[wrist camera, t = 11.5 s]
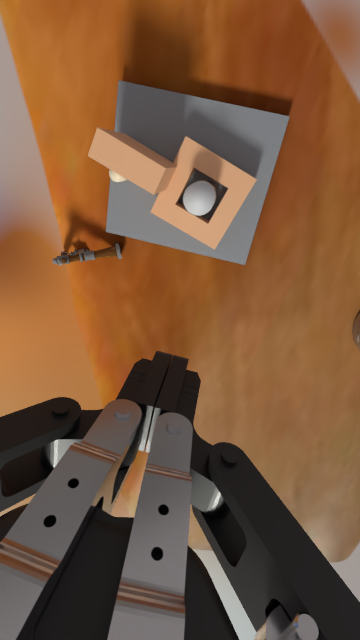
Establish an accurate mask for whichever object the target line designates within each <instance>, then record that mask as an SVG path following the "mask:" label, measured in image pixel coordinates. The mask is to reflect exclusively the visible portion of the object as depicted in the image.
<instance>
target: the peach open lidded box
mask: <svg viewBox="0 0 360 640" xmlns="http://www.w3.org/2000/svg"><path fill="white" fill-rule="evenodd" d="M88 156H89V157H90V158H92V159H94V160H95V161H97V162H99V163H101V164H102V165H104V166H106V167H107V168H109V169H111V170H112V171H114V172H116V173H117V174H119V175H121V176H123V177H124V178H126V179H128V180H129V181H131V182H133V183H134V184H136V185H138V186H139V187H141V188H143V189H145V190H146V191H148V192H150V193H151V194H153V195H155V194H157V193H159V195H158V197H157V199H156V201H155V203H154V205H153V207H152V210H151V213H153V214H154V215H156V216H158V217H160V218H161V219H163V220H165V221H166V222H168V223H170V224H171V225H173V226H175V227H177V228H178V229H180V230H182V231H183V232H185V233H187V234H189V235H190V236H192V237H194V238H195V239H197V240H199V241H201V242H202V243H204V244H206V245H207V246H209V247H211V248H213V249H214V250H215V248H216V247H217V245H218V243H219V242H220V240H221V239H222V237H223V235H224V234H225V232H226V230H227V229H228V227H229V225H230V224H231V222H232V220H233V219H234V217H235V215H236V214H237V212H238V210H239V209H240V207H241V205H242V204H243V202H244V200H245V199H246V197H247V195H248V194H249V192H250V190H251V189H252V187H253V185H254V184H255V182H256V180H257V179H256V178H254V177H252V176H251V175H249V174H248V173H246V172H244V171H243V170H241V169H239V168H238V167H236V166H235V165H233V164H231V163H230V162H228V161H226V160H225V159H223V158H222V157H220V156H218V155H217V154H215V153H213V152H212V151H210V150H208V149H207V148H205V147H204V146H202V145H200V144H199V143H197V142H195V141H194V140H192V139H191V138H189V137H187V136H186V137H185V139H184V141H183V143H182V145H181V147H180V149H179V152H178V154H177V156H176V158H175V160H174V162H171V161H169V160H168V159H166V158H164V157H163V156H161V155H159V154H158V153H156V152H155V151H153V150H151V149H150V148H148V147H146V146H145V145H143V144H141V143H140V142H138V141H136V140H135V139H133V138H131V137H130V136H128V135H126V134H124V133H119V132H115V131H111V130H107V129H102V128H98V127H97V130H96V133H95V136H94V139H93V142H92V145H91V148H90V151H89V154H88ZM195 168H196V169H197V170H199V171H201V172H202V173H204V174H206V175H207V176H209V177H211V178H212V179H214V180H216V181H217V182H219V183H220V184H222V185H224V186H225V187H227V188H228V189H227V191H226V193H225V195H224V196H223V198H222V200H221V202H220V203H219V205H218V207H217V209H216V211H215V212H214V214H213V216H212V218H211V219H210V221H209V220H207V219H206V218H204V217H202V216H201V215H200V216H197V215H193V214H191V213H190V212H188V211H187V209H186V208H185V206H184V205H182V204H180V203H179V200H180V198H181V196H182V194H183V192H184V190H185V188H186V186H187V184H188V182H189V180H190V178H191V176H192V174H193V172H194V170H195Z"/></svg>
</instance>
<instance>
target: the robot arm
mask: <svg viewBox="0 0 360 640" xmlns="http://www.w3.org/2000/svg"><path fill="white" fill-rule="evenodd" d="M352 332H353V339H354V341H355V343H356V345H357V347H358V348H359V350H360V313H359V314H358V316H357V317H356V319H355V322H354V324H353V331H352ZM171 359H172V360H171ZM188 360H189V359H187V358H183V357H179V356H176V355H173V358H172V354H168V353H164V352H160V351H156V353H155V356H154V358H153V360H152V361H151V360H147V359H143V358H142V359H141V360H139V361H138V362H136V363H135V364H134V366H133V368H132V370H131V372H130V374H129V375H128V378H127V379H126V381H125V383H124V385H123V387H122V389H121V391H120V392H119V394H118V396H117V398H116V400H114V401H111V402H110V403H108V404H107V405H106V406H105V408H104V409H100V410H81V407H80V405H79V403H78V402H77V401H75V400H73V399H71V398H67V397H58V398H54V399H51V400H48V401H45V402H42V403H39V404H36V405H34V406H31V407H28V408H25V409H22V410H19V411H16V412H14V413H11V414H8V415H5V416H2V417H0V512H1V511H3V510H5V509H7V508H9V507H11V506H12V505H14V504H16V503H18V502H20V501H22V500H24V499H26V498H28V497H30V496H32V495H33V494H35V493H36V494H35V496H34V497H33V498H32V500H31V501H30V503H29V504H26V505H23V506H20V507H18V508H16V509H13V510H11V511H9V512H8V513H6V514H4V515H2V516H1V517H0V640H239V638H238V636H237V634H236V632H235V630H234V627H233V625H232V623H231V621H230V619H229V617H228V614H227V612H226V610H225V608H224V606H223V603H222V601H221V599H220V597H219V595H218V593H217V591H216V589H215V586H214V584H213V582H212V579H211V577H210V575H209V573H208V571H207V569H206V567H205V566H204V564H203V562H202V561H201V559H200V558H199V557H198V556H197V554H196V553H195V552H194V551H193V550H192V549H191V548H190V547H189V546H188V533H189V518H190V504H192V510H193V513H194V515H195V517H196V519H197V521H198V523H199V525H200V527H201V528H202V530H203V532H204V534H205V536H206V538H207V540H208V542H209V543H210V545H211V547H212V549H213V551H214V553H215V555H216V556H217V559H218V560H219V562H220V564H221V566H222V568H223V570H224V572H225V574H226V576H227V577H228V579H229V581H230V583H231V585H232V587H233V589H234V591H235V592H236V594H237V596H238V598H239V600H240V602H241V604H242V605H243V608H244V609H245V611H246V613H247V615H248V617H249V619H250V621H251V623H252V625H253V626H254V628H255V630H256V632H257V633H256V635H255V638H254V640H360V602H359V601H358V600H357V598H356V597H355V596H354V595H353V594H352V592H351V591H350V589H349V588H348V587H347V586H346V584H345V583H344V581H343V580H342V579H341V578H340V576H339V575H338V574H337V572H336V571H335V570H334V569H333V567H332V566H331V565H330V563H329V562H328V561H327V559H326V558H325V557H324V555H323V554H322V553H321V552H320V550H319V549H318V548H317V546H316V545H315V544H314V543H313V541H312V540H311V539H310V537H309V536H308V535H307V533H306V532H305V531H304V530H303V528H302V527H301V526H300V524H299V523H298V522H297V520H296V519H295V518H294V517H293V515H292V514H291V513H290V511H289V510H288V509H287V507H286V506H285V505H284V504H283V502H282V501H281V500H280V498H279V497H278V496H277V494H276V493H275V492H274V491H273V489H272V488H271V487H270V485H269V484H268V483H267V481H266V480H265V479H264V478H263V476H262V475H261V474H260V472H259V471H258V470H257V468H256V467H255V466H254V465H253V463H252V462H251V461H250V459H249V458H248V457H247V455H246V454H245V453H244V452H243V451H242V450H241V449H240V448H239V447H237V446H235V445H233V444H231V443H226V442H221V443H217V444H215V445H211V444H209V443H207V442H206V441H204V440H203V439H202V438H200V437H199V435H198V434H197V433H196V431H195V429H194V426H193V420H194V415H195V409H196V404H197V399H198V393H199V388H200V382H201V380H200V378H199V375H198V373H197V372H193V371H189V370H186V368H187V364H188ZM147 441H148V443H147ZM146 444H147V448H146V452H148V453H149V454H148V459H147V463H146V467H145V472H144V476H143V481H142V485H141V490H140V494H139V499H138V503H137V508H136V512H135V517H134V518H127V517H113V516H111V515H110V514H111V512H112V510H113V507H114V505H115V503H116V501H117V498H118V496H119V494H120V492H121V490H122V488H123V485H124V483H125V481H126V479H127V477H128V474H129V472H130V470H131V468H132V464H133V461H134V460H135V457H136V454H137V452H138V450H140V451H144V450H145V447H146Z"/></svg>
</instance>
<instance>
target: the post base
mask: <svg viewBox="0 0 360 640" xmlns="http://www.w3.org/2000/svg"><path fill="white" fill-rule="evenodd" d="M289 117H290V116H285V115H281V114H276V113H271V112H266V111H262V110H257V109H252V108H248V107H243V106H238V105H233V104H229V103H224V102H219V101H214V100H210V99H205V98H200V97H196V96H191V95H186V94H181V93H177V92H172V91H167V90H162V89H158V88H153V87H148V86H144V85H139V84H134V83H129V82H125V81H120V80H119V84H118V95H117V107H116V119H115V132H119V133H124V134H126V135H128V136H130V137H131V138H133V139H135V140H136V141H138V142H140V143H141V144H143V145H145V146H146V147H148V148H150V149H151V150H153V151H155V152H156V153H158V154H159V155H161V156H163V157H164V158H166V159H168V160H169V161H171V162H174V160H175V158H176V156H177V154H178V152H179V149H180V147H181V145H182V143H183V141H184V139H185V137H186V136H187V137H189V138H191V139H192V140H194V141H195V142H197V143H199V144H200V145H202V146H204V147H205V148H207V149H208V150H210V151H212V152H213V153H215V154H217V155H218V156H220V157H222V158H223V159H225V160H226V161H228V162H230V163H231V164H233V165H235V166H236V167H238V168H239V169H241V170H243V171H244V172H246V173H248V174H249V175H251V176H252V177H254V178H256V179H257V180H256V182H255V184H254V185H253V187H252V189H251V190H250V192H249V194H248V195H247V197H246V199H245V200H244V202H243V204H242V205H241V207H240V209H239V210H238V212H237V214H236V215H235V217H234V219H233V220H232V222H231V224H230V225H229V227H228V229H227V230H226V232H225V234H224V235H223V237H222V239H221V240H220V242H219V243H218V245H217V247H216V248H215V250H214V249H213V248H211V247H209V246H207V245H206V244H204V243H202V242H201V241H199V240H197V239H195V238H194V237H192V236H190V235H189V234H187V233H185V232H183V231H182V230H180V229H178V228H177V227H175V226H173V225H171V224H170V223H168V222H166V221H165V220H163V219H161V218H160V217H158V216H156V215H154V214H153V213H151V210H152V207H153V205H154V203H155V201H156V199H157V197H158V195H159V193H157V194H155V195H153V194H151V193H150V192H148V191H146V190H145V189H143V188H141V187H139V186H138V185H136V184H134V183H133V182H131V181H129V180H128V179H126V178H124V177H123V176H121V175H119V174H117V173H116V172H114V171H112V170H111V169H110V171H109V175H110V189H109V201H108V213H107V224H106V232H109V233H113V234H117V235H121V236H125V237H130V238H134V239H138V240H142V241H146V242H151V243H155V244H159V245H163V246H167V247H172V248H176V249H180V250H184V251H188V252H193V253H197V254H201V255H205V256H209V257H214V258H218V259H222V260H226V261H230V262H235V263H239V264H243V265H245V263H246V260H247V256H248V253H249V250H250V246H251V243H252V240H253V236H254V233H255V230H256V226H257V223H258V220H259V216H260V213H261V210H262V207H263V203H264V200H265V197H266V193H267V190H268V187H269V183H270V180H271V177H272V173H273V170H274V167H275V163H276V160H277V157H278V153H279V150H280V147H281V143H282V140H283V137H284V133H285V130H286V127H287V124H288V120H289ZM227 189H228V188H227V187H225V186H224V185H222V184H220V183H219V182H217V181H216V180H214V179H212V178H211V177H209V176H207V175H206V174H204V173H202V172H201V171H199V170H197V169H196V168H195V170H194V172H193V174H192V176H191V178H190V180H189V182H188V184H187V186H186V188H185V190H184V192H183V194H182V196H181V198H180V200H179V203H180V204H182V205H184V206H185V208H186V209H187V211H188V212H190V213H191V214H193V215H197V216H200V215H201V216H202V217H204V218H206V219H207V220H209V221H210V219H211V218H212V216H213V214H214V212H215V211H216V209H217V207H218V205H219V203H220V202H221V200H222V198H223V196H224V195H225V193H226V191H227Z"/></svg>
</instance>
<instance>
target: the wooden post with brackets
mask: <svg viewBox="0 0 360 640" xmlns="http://www.w3.org/2000/svg"><path fill="white" fill-rule="evenodd" d="M68 254H69V253H66V251H64V252H61V256H57V258H54V259H53V261H52V262H53V263H54V264H59V265H62V264H70V262H75V261H81V262H83V260H85V261H88V260H95V258H100V257H112V256H117V257H118V259H121V253H120V248H119V244H118V242H117V243H115V245H114V246H112V247H109V248H106V249H102V250H98V251H93V250H92V251H89V250H88V249H86V250H85V251H84V248H83V249H79V250H76V249H75V251H74V252H73V253H72V252H71V254H69V255H68Z"/></svg>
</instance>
